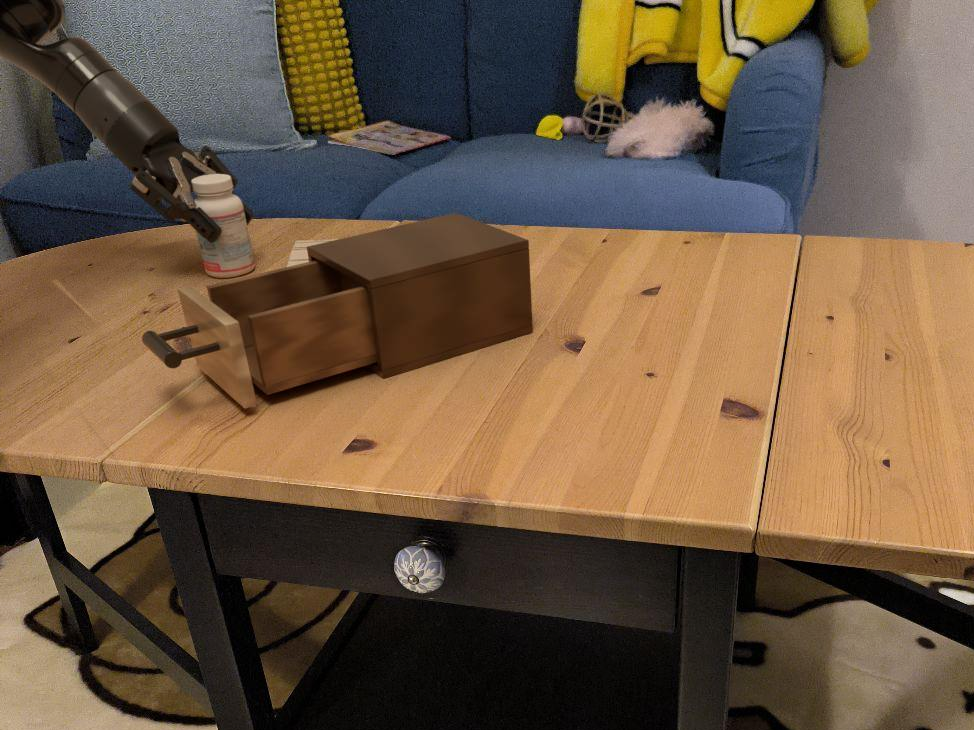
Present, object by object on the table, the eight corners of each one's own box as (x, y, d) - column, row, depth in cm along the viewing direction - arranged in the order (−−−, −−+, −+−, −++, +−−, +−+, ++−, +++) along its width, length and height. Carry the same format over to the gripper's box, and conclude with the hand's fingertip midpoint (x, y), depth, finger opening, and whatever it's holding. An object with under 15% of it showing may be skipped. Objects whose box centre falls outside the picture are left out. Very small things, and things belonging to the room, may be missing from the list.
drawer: (190, 425, 83) (167, 340, 79) (146, 379, 92) (123, 300, 87) (406, 359, 93) (397, 280, 89) (349, 324, 102) (337, 250, 98)
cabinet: (383, 378, 92) (369, 280, 87) (322, 337, 101) (306, 246, 96) (533, 332, 100) (528, 239, 95) (463, 298, 110) (456, 212, 104)
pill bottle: (199, 270, 122) (177, 178, 115) (245, 260, 125) (226, 169, 118) (216, 282, 118) (194, 187, 111) (263, 271, 120) (244, 178, 114)
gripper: (97, 111, 107) (212, 225, 110) (177, 88, 118) (280, 193, 121) (73, 159, 111) (185, 268, 114) (153, 133, 122) (252, 233, 126)
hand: (233, 229), depth 118 cm, fingers closed on pill bottle, 6 cm apart
